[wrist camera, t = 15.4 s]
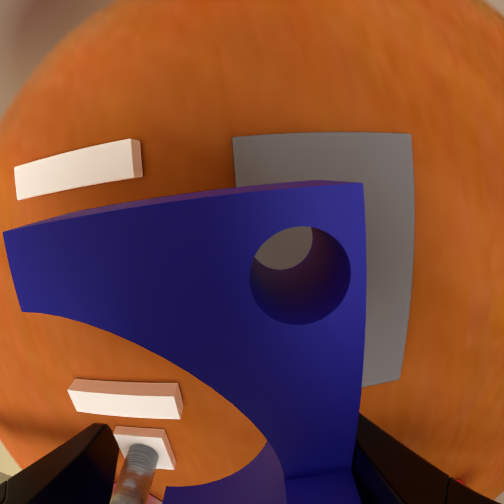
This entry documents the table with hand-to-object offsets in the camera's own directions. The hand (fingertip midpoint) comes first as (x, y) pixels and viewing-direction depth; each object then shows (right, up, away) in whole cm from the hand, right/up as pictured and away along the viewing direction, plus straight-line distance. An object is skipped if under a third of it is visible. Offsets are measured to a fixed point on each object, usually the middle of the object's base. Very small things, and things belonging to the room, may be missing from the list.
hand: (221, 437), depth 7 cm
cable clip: (+3, 0, -1) cm, 3 cm away
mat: (+5, +3, +11) cm, 13 cm away
